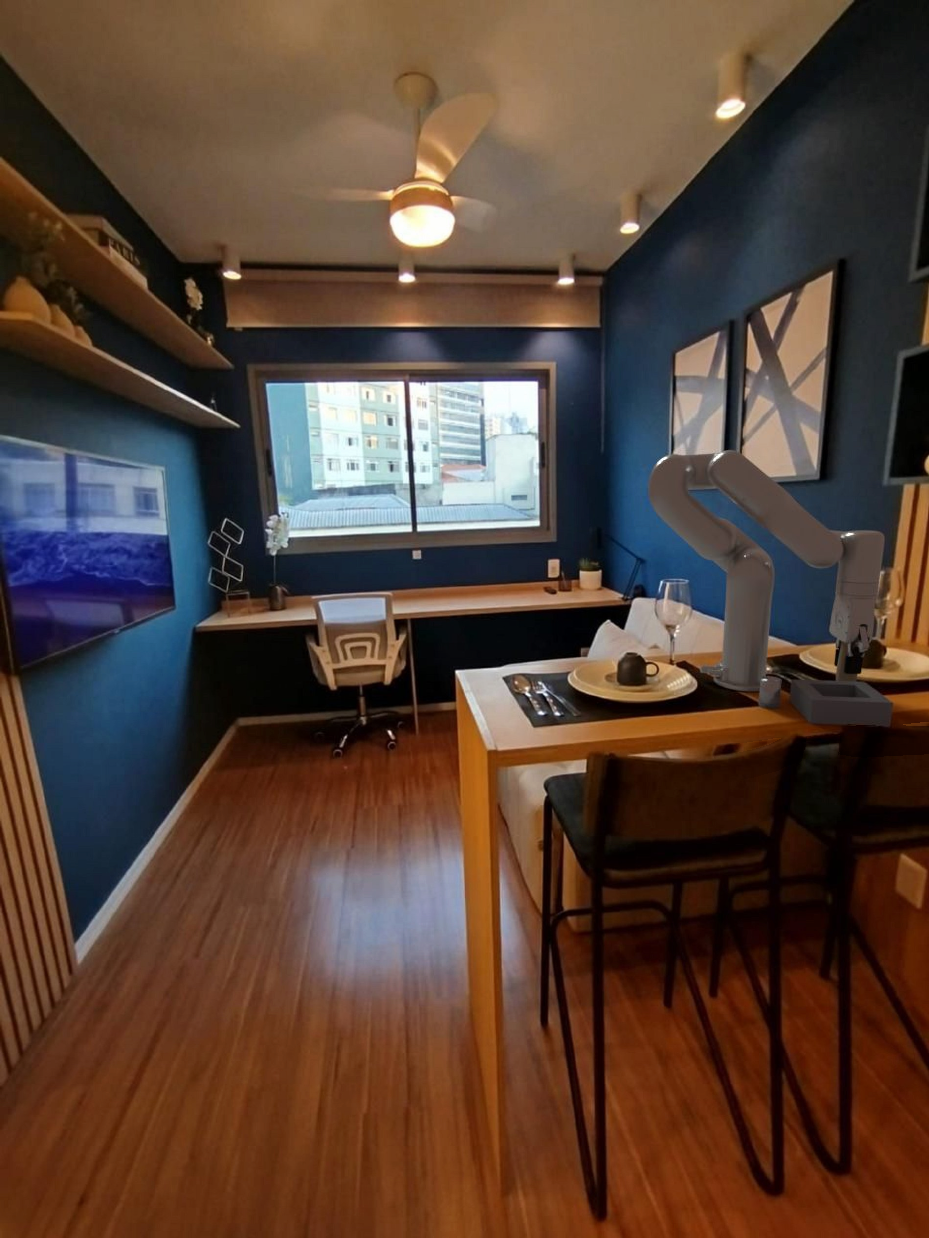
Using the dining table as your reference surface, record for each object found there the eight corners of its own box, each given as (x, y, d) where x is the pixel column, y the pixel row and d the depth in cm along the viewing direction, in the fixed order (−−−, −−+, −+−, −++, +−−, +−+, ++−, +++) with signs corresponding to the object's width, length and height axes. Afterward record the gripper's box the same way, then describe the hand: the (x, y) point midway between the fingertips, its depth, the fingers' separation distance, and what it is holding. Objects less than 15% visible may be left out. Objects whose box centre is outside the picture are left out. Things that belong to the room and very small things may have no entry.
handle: (842, 687, 130) (849, 624, 127) (865, 697, 124) (874, 631, 120) (823, 689, 129) (830, 626, 126) (846, 699, 123) (854, 633, 120)
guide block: (809, 723, 112) (812, 699, 111) (789, 701, 124) (791, 679, 123) (889, 726, 109) (893, 702, 108) (861, 703, 121) (864, 681, 119)
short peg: (761, 708, 120) (763, 682, 119) (756, 701, 124) (758, 675, 123) (781, 709, 120) (784, 682, 118) (775, 702, 123) (778, 676, 122)
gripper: (822, 582, 130) (814, 658, 134) (854, 596, 114) (844, 682, 118) (858, 582, 128) (849, 658, 132) (896, 596, 112) (885, 683, 116)
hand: (847, 668), depth 125 cm, fingers open, 4 cm apart
